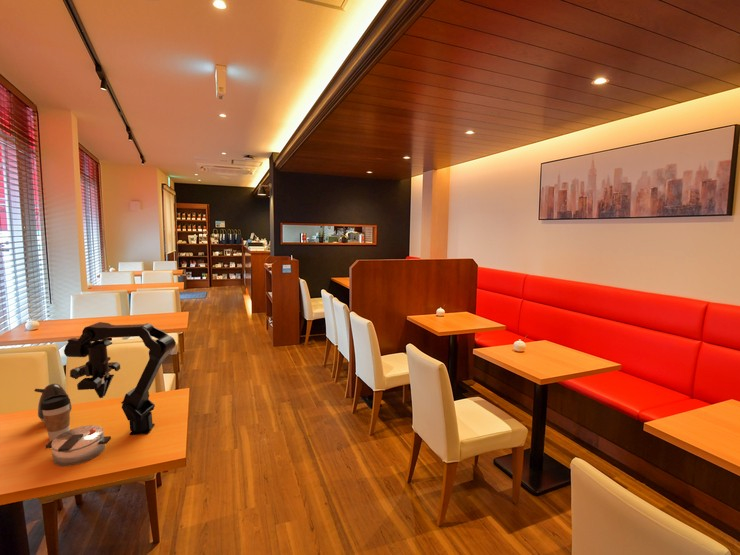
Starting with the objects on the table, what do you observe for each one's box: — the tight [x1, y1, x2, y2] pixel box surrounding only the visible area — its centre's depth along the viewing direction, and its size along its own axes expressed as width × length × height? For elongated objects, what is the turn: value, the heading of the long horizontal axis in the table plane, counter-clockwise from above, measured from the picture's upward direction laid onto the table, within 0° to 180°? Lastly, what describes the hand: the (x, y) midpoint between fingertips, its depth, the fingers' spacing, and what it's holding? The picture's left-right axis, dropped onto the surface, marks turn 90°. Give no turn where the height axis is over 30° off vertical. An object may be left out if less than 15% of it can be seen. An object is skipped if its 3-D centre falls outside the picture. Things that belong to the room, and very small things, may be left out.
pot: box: [44, 434, 112, 467], centre depth 129 cm, size 18×14×5 cm
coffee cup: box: [40, 394, 71, 441], centre depth 138 cm, size 8×8×15 cm
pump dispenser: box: [34, 383, 73, 424], centre depth 148 cm, size 10×10×15 cm
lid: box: [51, 424, 105, 452], centre depth 128 cm, size 14×15×2 cm
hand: (102, 396), depth 142 cm, fingers closed
